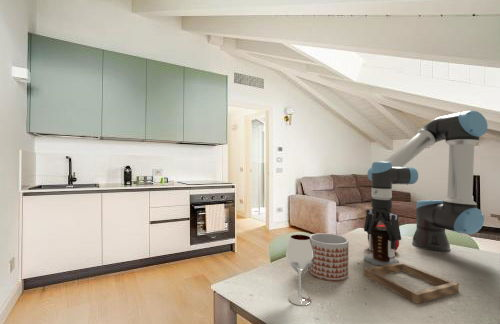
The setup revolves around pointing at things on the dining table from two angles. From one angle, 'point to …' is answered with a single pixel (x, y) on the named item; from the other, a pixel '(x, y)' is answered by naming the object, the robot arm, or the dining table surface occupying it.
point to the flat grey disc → (370, 259)
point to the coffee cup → (380, 243)
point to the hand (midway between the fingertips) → (381, 252)
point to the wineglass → (300, 263)
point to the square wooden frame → (418, 297)
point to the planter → (329, 257)
